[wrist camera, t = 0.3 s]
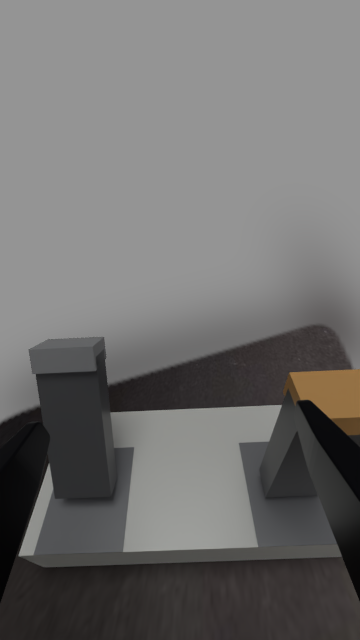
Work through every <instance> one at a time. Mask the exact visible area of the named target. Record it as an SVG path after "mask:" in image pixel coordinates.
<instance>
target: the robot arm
mask: <svg viewBox="0 0 360 640" xmlns="http://www.w3.org/2000/svg"><path fill="white" fill-rule="evenodd" d="M294 419H295V424H296V428H297V431H298V435H299V438H300V442H301V446H302V449H303V453H304V457H305V460H306V464H307V467H308V470H309V473H310V476H311V479H312V481H313V484H314V486H315V489H316V491H317V494H318V496H319V499H320V501H321V504H322V507H323V509H324V512H325V514H326V517H327V519H328V522H329V524H330V527H331V529H332V532H333V535H334V537H335V540H336V542H337V545H338V547H339V550H340V552H341V555H342V557H343V560H344V562H345V565H346V568H347V570H348V573H349V575H350V578H351V580H352V583H353V585H354V588H355V590H356V593H357V596H358V598H359V601H360V446H359V445H358V444H357V443H356V442H354V441H353V440H352V439H351V438H350V437H349V436H348V435H347V434H346V433H345V432H344V431H343V430H342V429H341V428H340V427H339V426H337V425H336V424H335V423H334V422H333V421H332V420H331V419H330V418H329V417H328V416H327V415H326V414H325V413H324V412H323V411H321V410H320V409H319V408H318V407H317V406H316V405H315V404H314V403H313V402H312V401H310V400H298V401H297V402H296V406H295V414H294ZM49 444H50V434H49V432H48V431H47V430H46V428H45V427H44V426H43V424H42V423H41V422H39V421H38V422H29V423H27V424H26V425H25V426H24V427H23V428H21V429H20V430H19V431H18V432H17V433H16V434H15V435H14V436H13V437H12V438H11V439H10V440H8V441H7V442H6V443H5V444H4V445H3V446H2V447H1V448H0V602H1V599H2V596H3V593H4V590H5V587H6V584H7V581H8V578H9V575H10V572H11V569H12V566H13V563H14V560H15V557H16V554H17V551H18V548H19V545H20V542H21V539H22V536H23V533H24V530H25V527H26V524H27V521H28V518H29V515H30V512H31V510H32V507H33V504H34V501H35V498H36V495H37V492H38V488H39V485H40V481H41V478H42V474H43V469H44V465H45V461H46V456H47V452H48V448H49Z"/></svg>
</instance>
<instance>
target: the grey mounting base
mask: <svg viewBox="0 0 360 640" xmlns="http://www.w3.org/2000/svg"><path fill="white" fill-rule="evenodd" d="M281 407H282V405H272V406H249V407H226V408H203V409H180V410H158V411H135V412H112V413H110V414H111V423H112V433H113V442H114V452H115V461H116V471H117V479H116V483H115V486H114V489H113V492H112V495H111V497H90V498H64V499H55V496H54V490H53V483H52V477H51V470H50V464H49V465H48V468H47V472H46V475H45V478H44V481H43V484H42V487H41V490H40V493H39V496H38V499H37V502H36V505H35V508H34V511H33V514H32V517H31V520H30V523H29V526H28V529H27V532H26V535H25V538H24V541H23V544H22V547H21V550H20V553H19V556H20V557H22V558H24V559H27V560H29V561H31V562H33V563H35V564H38V565H40V566H42V567H70V566H99V565H127V564H155V563H183V562H211V561H240V560H268V559H296V558H324V557H342V555H341V552H340V550H339V547H338V545H337V542H336V540H335V537H334V535H333V532H332V529H331V527H330V524H329V522H328V519H327V517H326V514H325V512H324V509H323V507H322V504H321V501H320V499H319V496H318V495H315V496H289V497H265V493H264V489H263V484H262V480H261V475H260V471H259V469H260V466H261V463H262V460H263V457H264V455H265V452H266V449H267V446H268V443H269V441H270V438H271V435H272V432H273V429H274V426H275V424H276V421H277V418H278V415H279V412H280V410H281Z"/></svg>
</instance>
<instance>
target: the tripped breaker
mask: <svg viewBox="0 0 360 640" xmlns="http://www.w3.org/2000/svg"><path fill="white" fill-rule="evenodd" d="M283 393H284V396H285V398H284V401H283V404H282V407H281V410H280V412H279V415H278V418H277V421H276V424H275V426H274V429H273V432H272V435H271V438H270V441H269V443H268V446H267V449H266V452H265V455H264V457H263V460H262V463H261V466H260V469H259V471H260V475H261V480H262V484H263V489H264V493H265V497H289V496H315V495H318V494H317V491H316V489H315V486H314V484H313V481H312V479H311V476H310V473H309V470H308V467H307V464H306V460H305V457H304V453H303V449H302V446H301V442H300V438H299V435H298V431H297V428H296V424H295V419H294V414H295V406H296V402H297V401H298V400H310V401H312V402H313V403H314V404H315V405H316V406H317V407H318V408H319V409H320V410H321V411H323V412H324V413H325V414H326V415H327V416H328V417H329V418H330V419H331V420H332V421H333V422H334V423H335V424H336V425H337V426H339V427H340V428H341V429H342V430H343V431H344V432H345V433H346V434H347V435H348V436H349V437H350V438H351V439H352V440H353V441H354V442H356V443H357V444H358V445H359V446H360V369H357V370H335V371H313V372H291V373H289V375H288V378H287V381H286V384H285V387H284V390H283Z"/></svg>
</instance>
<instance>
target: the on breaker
mask: <svg viewBox="0 0 360 640" xmlns="http://www.w3.org/2000/svg"><path fill="white" fill-rule="evenodd" d="M29 355H30V361H31V368H32V373H33V374H36V380H37V386H38V392H39V398H40V405H41V412H42V418H43V425H44V427H45V428H46V430H47V431H48V432H49V434H50V444H49V448H48V457H49V464H50V470H51V477H52V483H53V490H54V496H55V499H64V498H90V497H111V495H112V492H113V489H114V486H115V483H116V479H117V471H116V461H115V452H114V442H113V433H112V423H111V414H110V404H109V394H108V385H107V376H106V366H105V359H106V352H105V342H104V337H90V338H69V339H49V340H46V341H44V342H42V343H40V344H39V345H37V346H35V347H33V348H31V349H29Z"/></svg>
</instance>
